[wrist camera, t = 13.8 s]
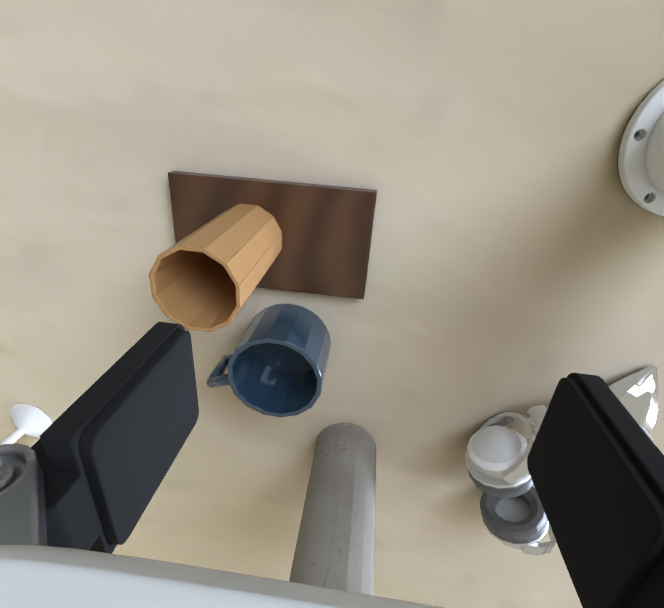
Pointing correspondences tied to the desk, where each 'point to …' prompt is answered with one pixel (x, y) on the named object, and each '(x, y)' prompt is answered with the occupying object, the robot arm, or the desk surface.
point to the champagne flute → (27, 422)
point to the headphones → (512, 472)
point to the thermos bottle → (339, 513)
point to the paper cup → (216, 268)
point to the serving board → (290, 227)
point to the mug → (277, 362)
